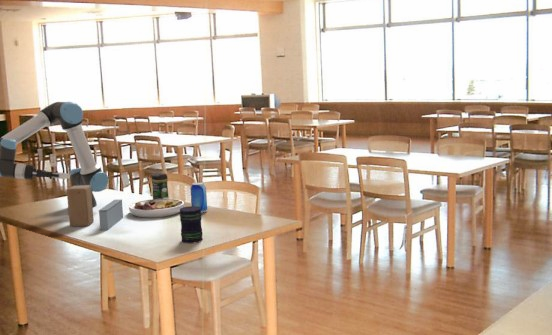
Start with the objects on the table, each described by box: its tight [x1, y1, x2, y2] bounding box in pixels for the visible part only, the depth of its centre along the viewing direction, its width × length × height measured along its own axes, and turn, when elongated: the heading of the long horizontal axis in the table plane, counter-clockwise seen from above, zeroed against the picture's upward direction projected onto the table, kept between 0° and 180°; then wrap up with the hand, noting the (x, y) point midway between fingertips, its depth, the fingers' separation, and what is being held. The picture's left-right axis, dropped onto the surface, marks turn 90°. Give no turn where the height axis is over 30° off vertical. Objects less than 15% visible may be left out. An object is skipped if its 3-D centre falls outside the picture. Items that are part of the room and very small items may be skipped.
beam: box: [98, 199, 124, 231], centre depth 341 cm, size 26×4×10 cm, turn 177°
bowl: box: [128, 198, 185, 219], centre depth 364 cm, size 30×30×8 cm
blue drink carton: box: [190, 181, 208, 214], centre depth 361 cm, size 8×8×16 cm
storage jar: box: [179, 205, 203, 244], centre depth 302 cm, size 10×10×15 cm
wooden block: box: [66, 185, 95, 228], centre depth 341 cm, size 10×10×20 cm
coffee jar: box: [151, 172, 170, 199], centre depth 386 cm, size 10×8×19 cm
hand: (67, 176), depth 342 cm, fingers open, 13 cm apart
